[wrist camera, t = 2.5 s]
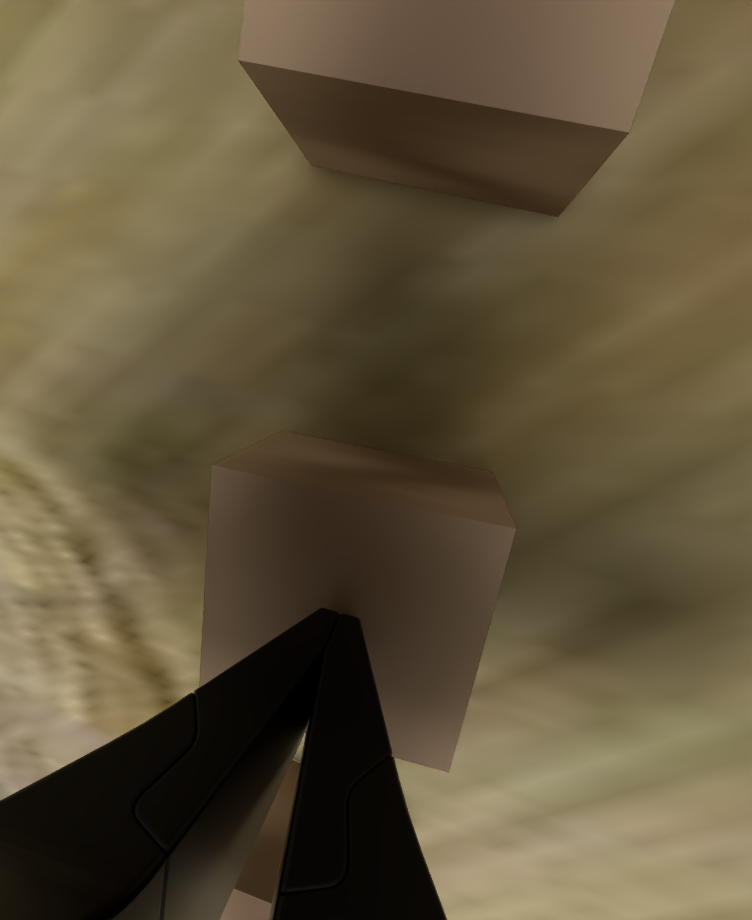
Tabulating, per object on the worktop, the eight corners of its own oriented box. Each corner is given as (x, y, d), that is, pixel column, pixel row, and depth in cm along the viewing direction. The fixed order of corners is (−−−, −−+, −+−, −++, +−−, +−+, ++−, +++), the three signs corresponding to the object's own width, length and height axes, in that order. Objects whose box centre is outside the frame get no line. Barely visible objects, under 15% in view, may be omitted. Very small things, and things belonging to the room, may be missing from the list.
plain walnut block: (492, 470, 11) (516, 528, 8) (447, 649, 13) (448, 772, 9) (284, 429, 12) (211, 465, 8) (266, 605, 14) (198, 703, 10)
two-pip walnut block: (401, 795, 15) (386, 955, 11) (359, 901, 16) (333, 1071, 13) (245, 737, 15) (177, 871, 11) (220, 846, 17) (153, 994, 13)
